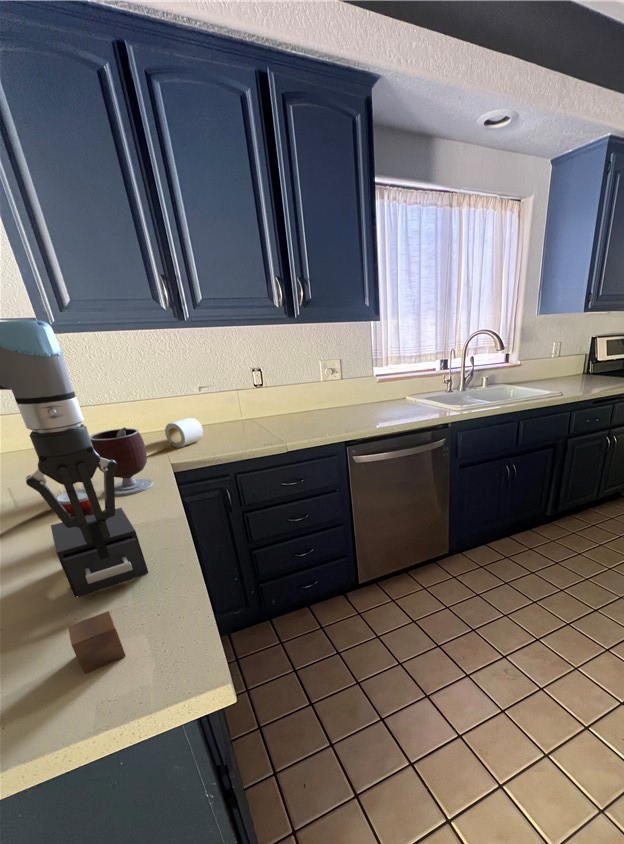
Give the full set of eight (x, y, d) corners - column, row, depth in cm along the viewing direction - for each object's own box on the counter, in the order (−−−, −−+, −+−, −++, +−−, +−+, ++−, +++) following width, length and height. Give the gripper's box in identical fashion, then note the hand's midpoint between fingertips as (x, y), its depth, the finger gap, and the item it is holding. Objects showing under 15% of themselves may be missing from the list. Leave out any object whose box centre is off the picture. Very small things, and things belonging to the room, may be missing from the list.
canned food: (95, 527, 107) (81, 486, 103) (116, 533, 104) (102, 491, 99) (64, 541, 101) (47, 498, 97) (84, 547, 98) (68, 503, 93)
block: (84, 674, 63) (71, 645, 60) (79, 653, 66) (67, 625, 64) (126, 656, 66) (115, 628, 63) (119, 637, 70) (109, 610, 67)
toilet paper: (186, 440, 183) (181, 416, 179) (205, 441, 180) (200, 418, 175) (168, 446, 175) (162, 422, 170) (187, 448, 171) (181, 423, 167)
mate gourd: (97, 490, 131) (75, 426, 123) (142, 477, 141) (125, 416, 133) (119, 501, 123) (97, 433, 114) (166, 486, 133) (149, 422, 124)
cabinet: (148, 572, 87) (135, 530, 83) (74, 597, 80) (56, 552, 76) (133, 546, 98) (121, 507, 94) (67, 566, 91) (50, 525, 87)
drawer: (152, 584, 82) (141, 549, 78) (81, 610, 75) (65, 572, 72) (132, 549, 95) (122, 517, 91) (70, 567, 88) (57, 534, 85)
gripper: (4, 439, 61) (63, 577, 71) (107, 423, 68) (147, 551, 78) (5, 430, 67) (59, 560, 76) (100, 416, 74) (139, 536, 84)
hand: (104, 555), depth 77 cm, fingers closed
